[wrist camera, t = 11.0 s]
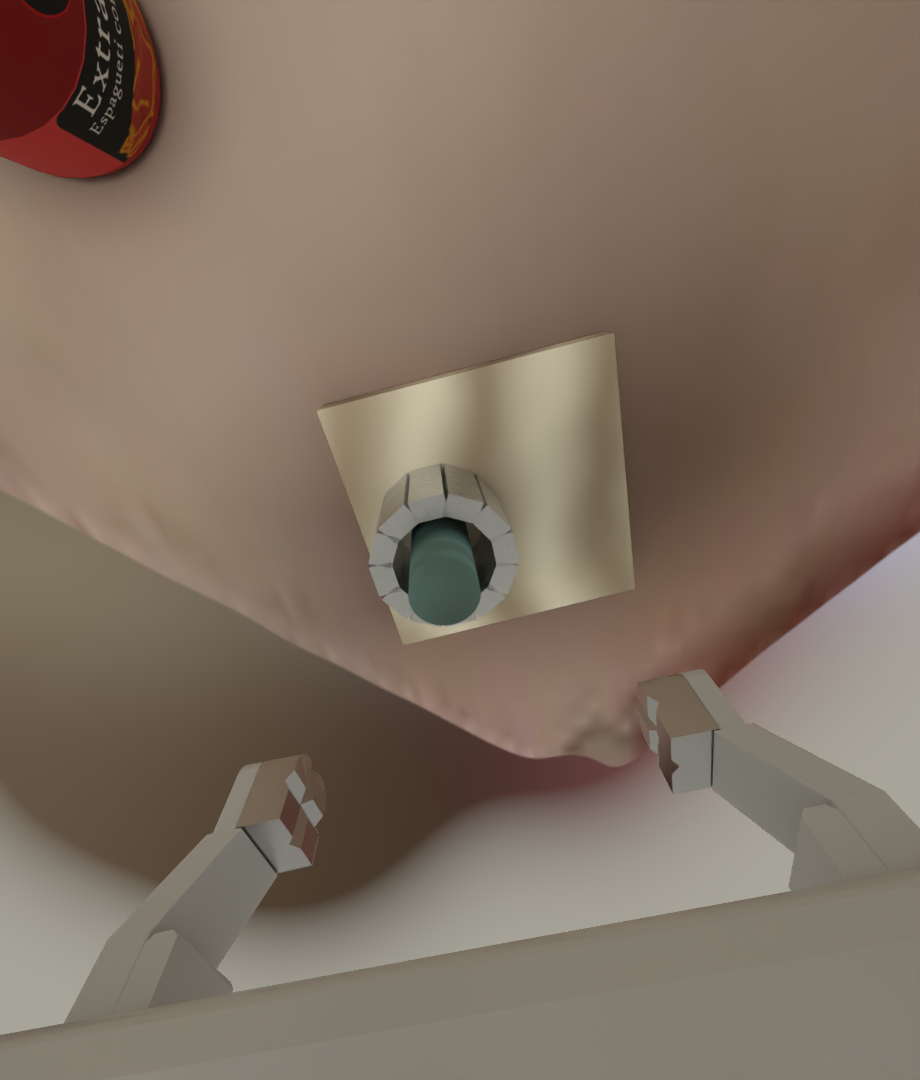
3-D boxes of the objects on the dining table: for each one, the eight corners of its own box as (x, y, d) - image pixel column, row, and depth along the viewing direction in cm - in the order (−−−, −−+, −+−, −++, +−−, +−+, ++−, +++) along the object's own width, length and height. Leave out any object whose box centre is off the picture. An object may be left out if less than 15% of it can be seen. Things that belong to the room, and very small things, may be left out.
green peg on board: (602, 332, 22) (699, 335, 14) (624, 576, 28) (701, 670, 20) (322, 405, 22) (271, 447, 15) (404, 629, 28) (397, 742, 21)
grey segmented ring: (487, 451, 22) (502, 478, 18) (511, 561, 25) (528, 607, 21) (362, 482, 23) (349, 516, 19) (399, 589, 25) (395, 639, 21)
